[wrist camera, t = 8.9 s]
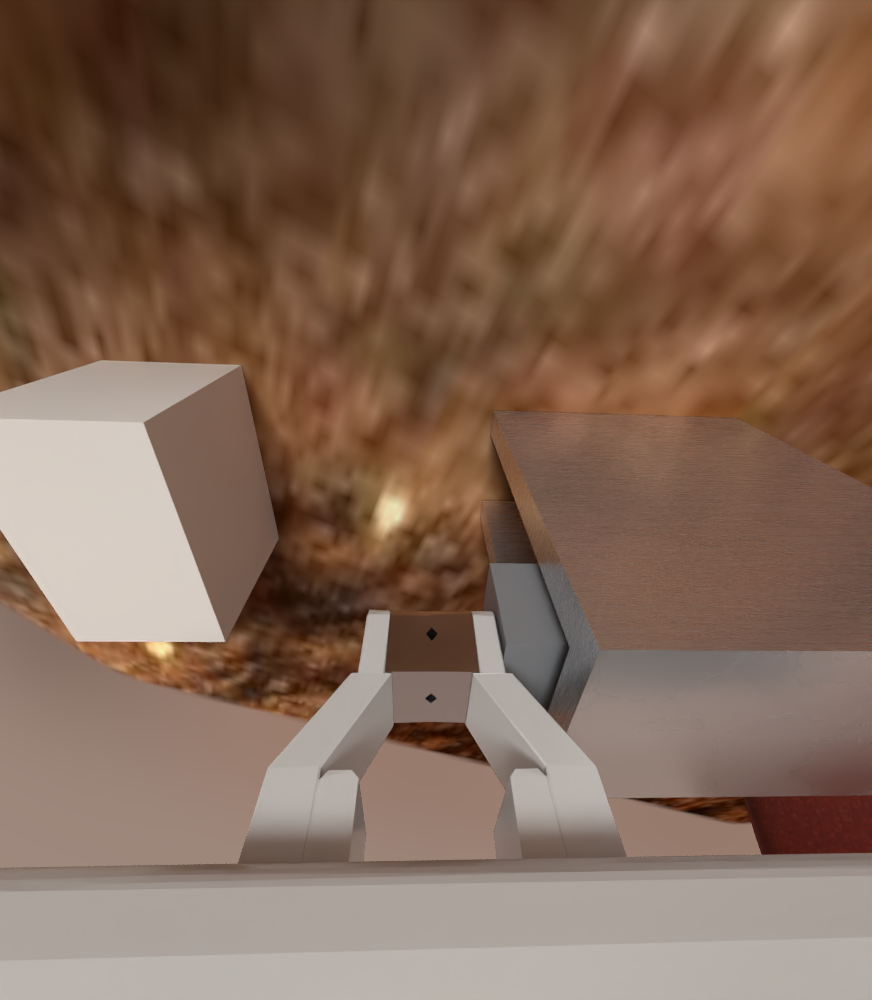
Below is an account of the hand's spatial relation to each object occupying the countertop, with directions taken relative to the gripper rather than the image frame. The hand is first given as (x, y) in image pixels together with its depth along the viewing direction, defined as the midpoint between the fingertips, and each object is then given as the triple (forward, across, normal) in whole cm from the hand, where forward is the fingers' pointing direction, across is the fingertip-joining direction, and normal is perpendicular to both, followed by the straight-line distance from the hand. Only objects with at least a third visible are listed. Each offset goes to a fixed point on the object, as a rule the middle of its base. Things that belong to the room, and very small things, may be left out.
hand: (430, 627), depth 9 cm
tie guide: (+9, -8, 0) cm, 11 cm away
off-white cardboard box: (+9, +10, 0) cm, 13 cm away
